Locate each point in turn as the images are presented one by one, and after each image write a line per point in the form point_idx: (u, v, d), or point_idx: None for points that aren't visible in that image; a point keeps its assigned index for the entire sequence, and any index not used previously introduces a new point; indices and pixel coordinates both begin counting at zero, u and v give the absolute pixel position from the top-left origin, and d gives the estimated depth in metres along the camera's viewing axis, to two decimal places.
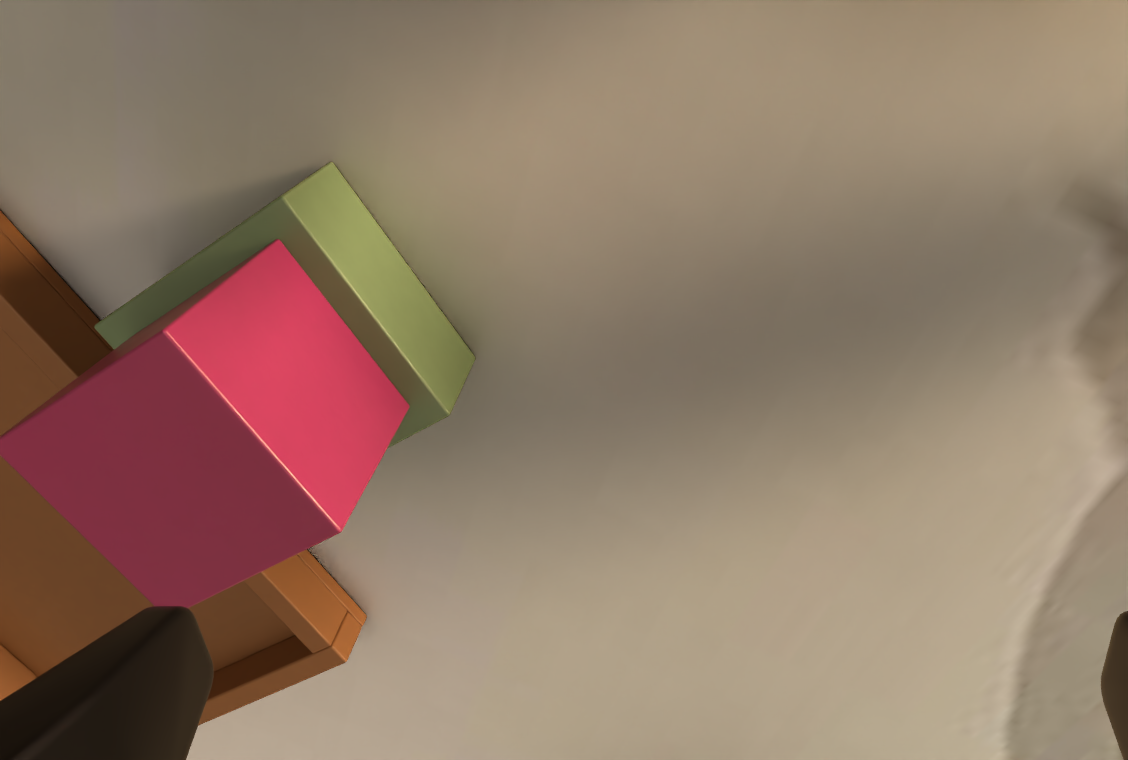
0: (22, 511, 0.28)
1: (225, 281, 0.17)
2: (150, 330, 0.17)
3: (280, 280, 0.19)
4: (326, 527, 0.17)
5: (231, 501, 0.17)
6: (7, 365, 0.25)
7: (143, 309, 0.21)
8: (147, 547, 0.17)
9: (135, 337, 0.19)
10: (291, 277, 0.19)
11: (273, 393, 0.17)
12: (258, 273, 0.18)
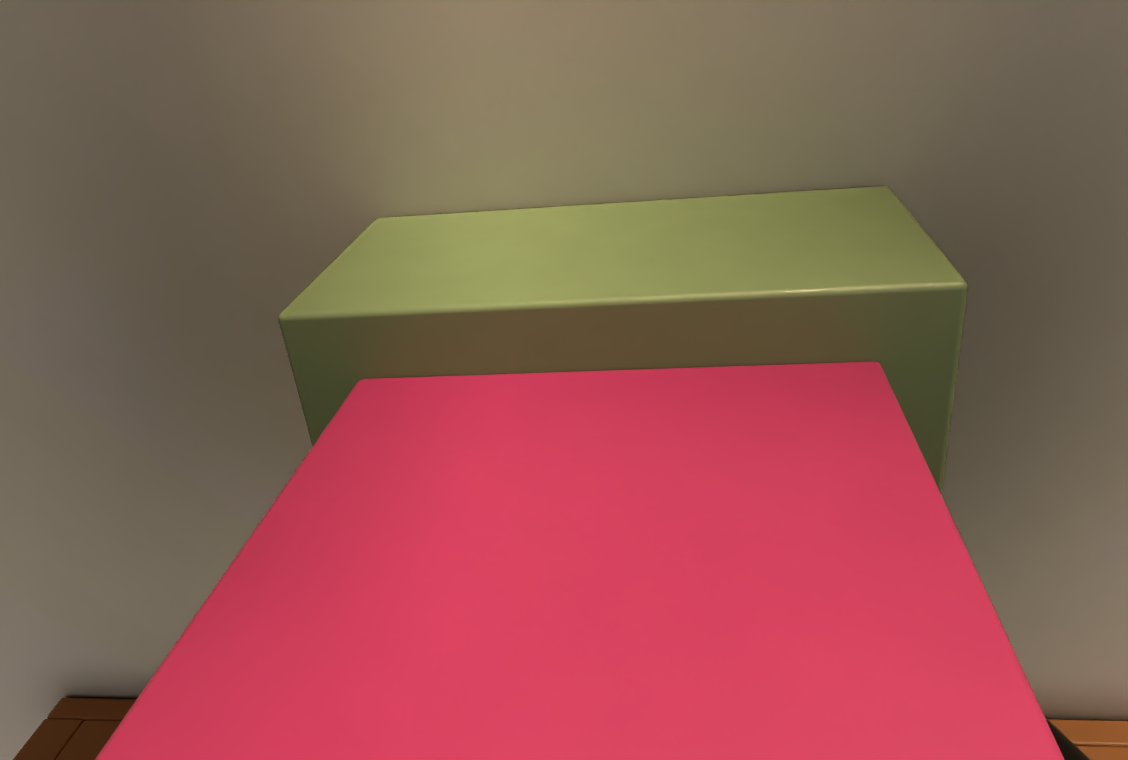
0: None
1: (244, 547, 0.06)
2: None
3: (396, 430, 0.07)
4: None
5: None
6: None
7: None
8: None
9: None
10: (420, 406, 0.08)
11: (511, 670, 0.05)
12: (331, 463, 0.07)
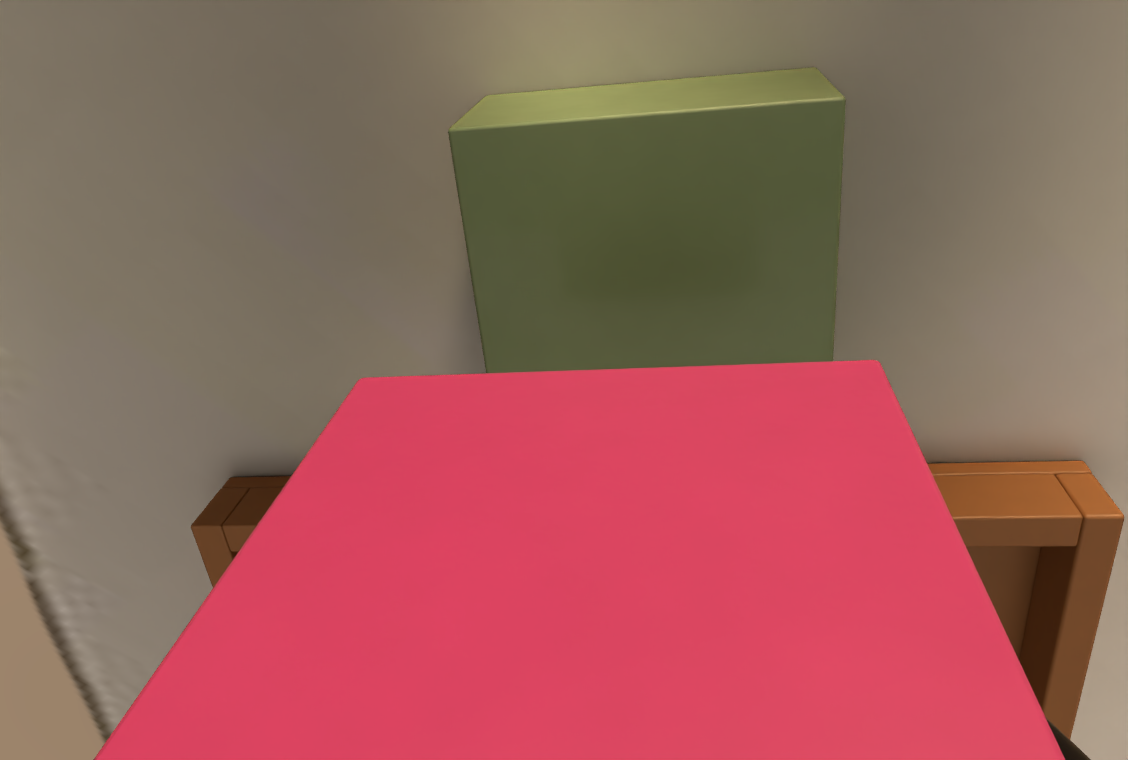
0: None
1: (245, 544, 0.06)
2: None
3: (396, 429, 0.08)
4: None
5: None
6: None
7: None
8: None
9: None
10: (421, 404, 0.08)
11: (511, 666, 0.05)
12: (332, 461, 0.07)
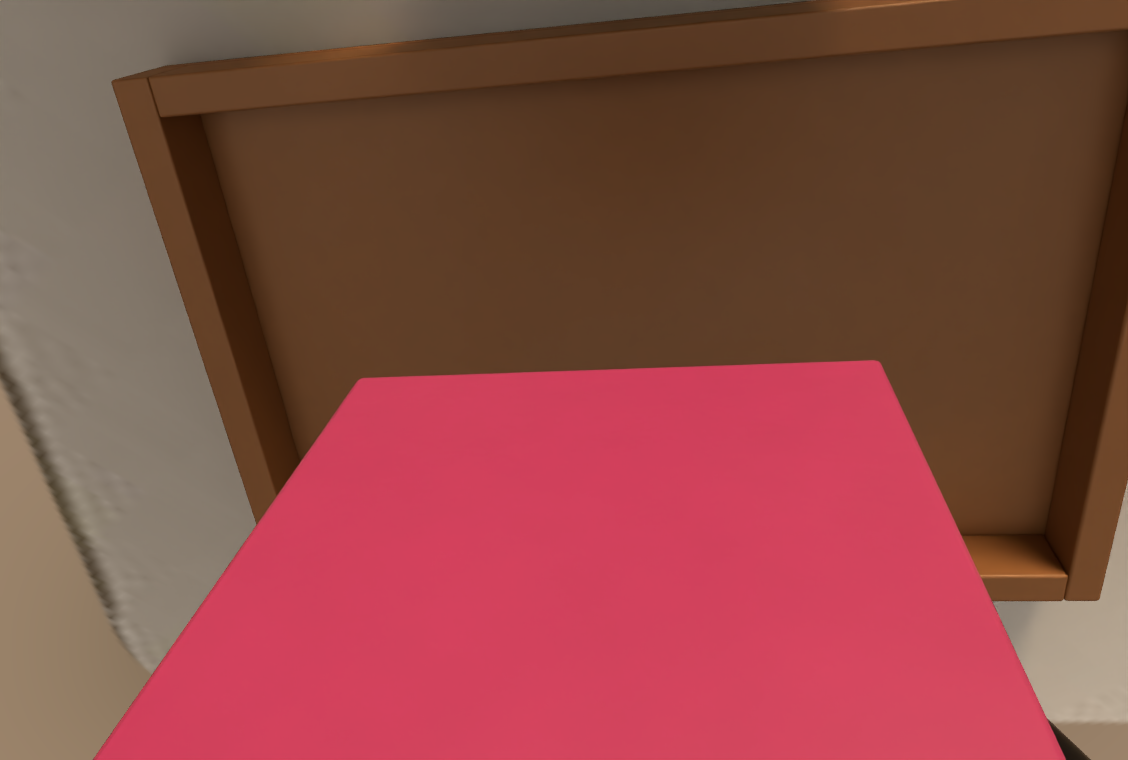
0: (701, 345, 0.20)
1: (244, 545, 0.06)
2: None
3: (396, 429, 0.07)
4: None
5: None
6: (517, 191, 0.19)
7: None
8: None
9: None
10: (420, 405, 0.08)
11: (511, 671, 0.05)
12: (331, 461, 0.07)
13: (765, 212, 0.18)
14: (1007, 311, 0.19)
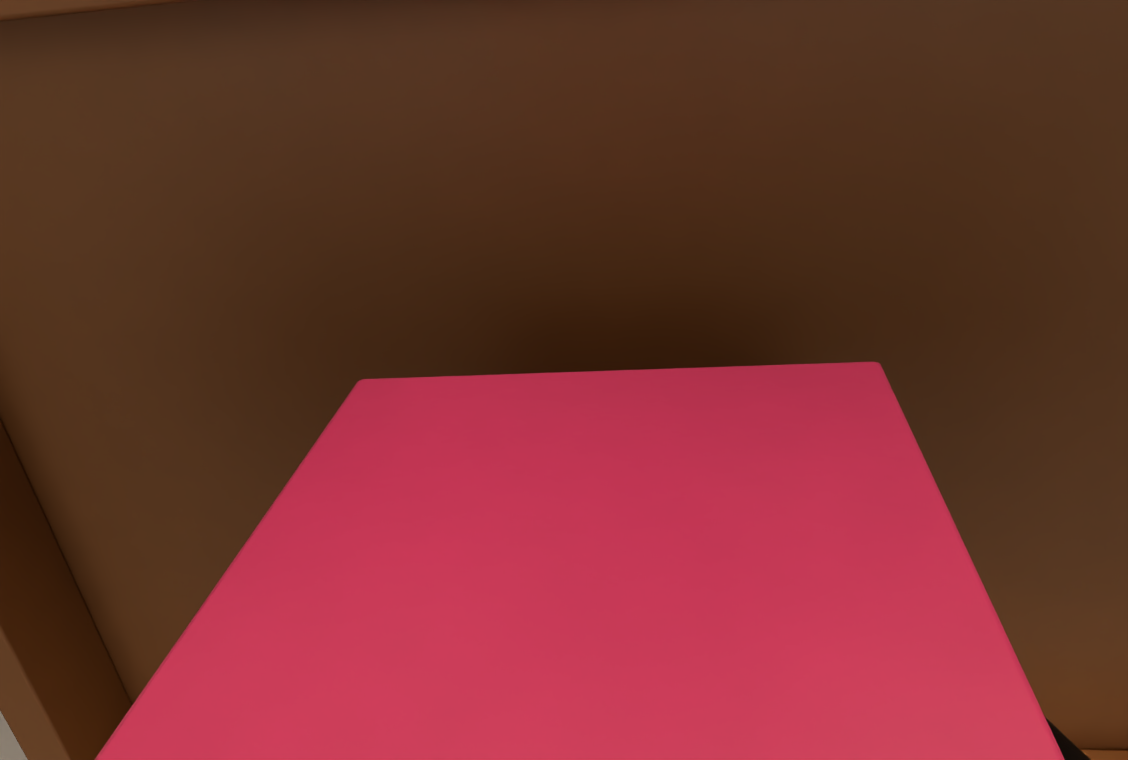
0: None
1: (243, 547, 0.06)
2: None
3: (395, 431, 0.07)
4: None
5: None
6: (398, 196, 0.11)
7: None
8: None
9: None
10: (420, 406, 0.08)
11: (509, 671, 0.05)
12: (331, 463, 0.07)
13: (839, 236, 0.10)
14: None
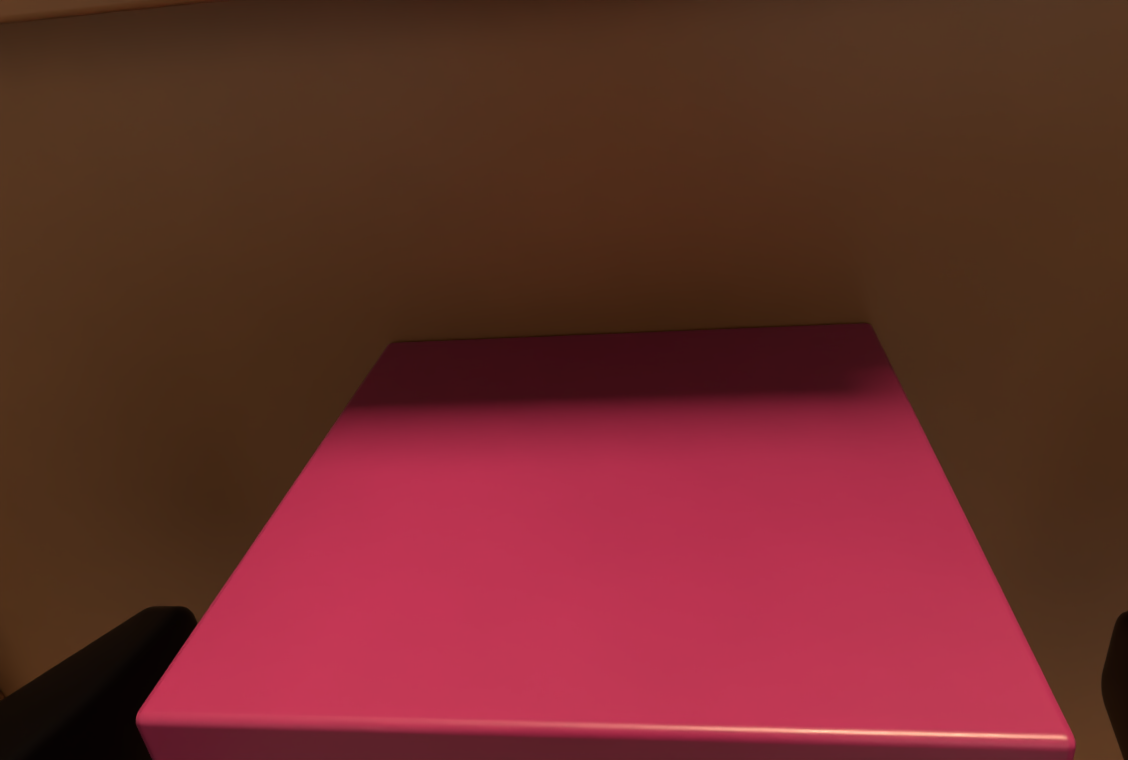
0: None
1: (295, 482, 0.07)
2: None
3: (426, 385, 0.08)
4: None
5: None
6: (349, 249, 0.09)
7: None
8: None
9: None
10: (448, 365, 0.09)
11: (543, 575, 0.06)
12: (369, 413, 0.08)
13: (886, 301, 0.08)
14: None
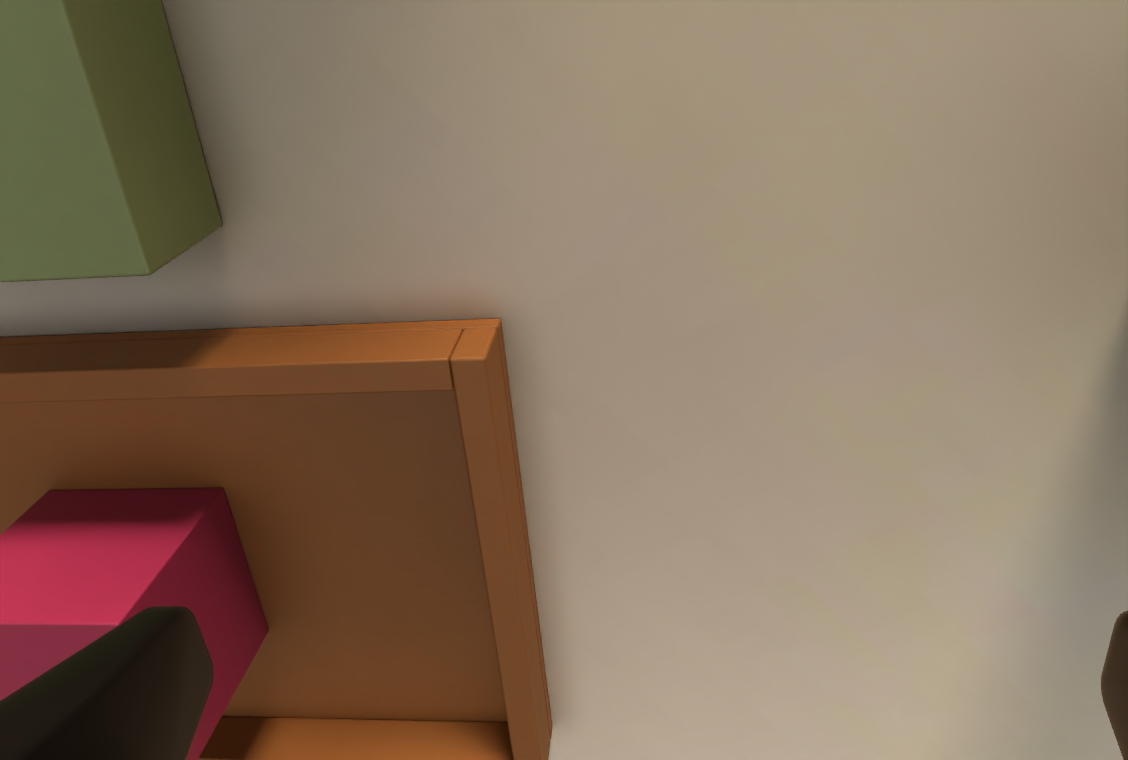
0: None
1: None
2: None
3: (47, 513, 0.22)
4: (109, 630, 0.18)
5: None
6: (27, 456, 0.23)
7: None
8: None
9: None
10: (61, 503, 0.22)
11: (33, 584, 0.19)
12: (20, 525, 0.22)
13: (226, 480, 0.22)
14: (438, 559, 0.23)
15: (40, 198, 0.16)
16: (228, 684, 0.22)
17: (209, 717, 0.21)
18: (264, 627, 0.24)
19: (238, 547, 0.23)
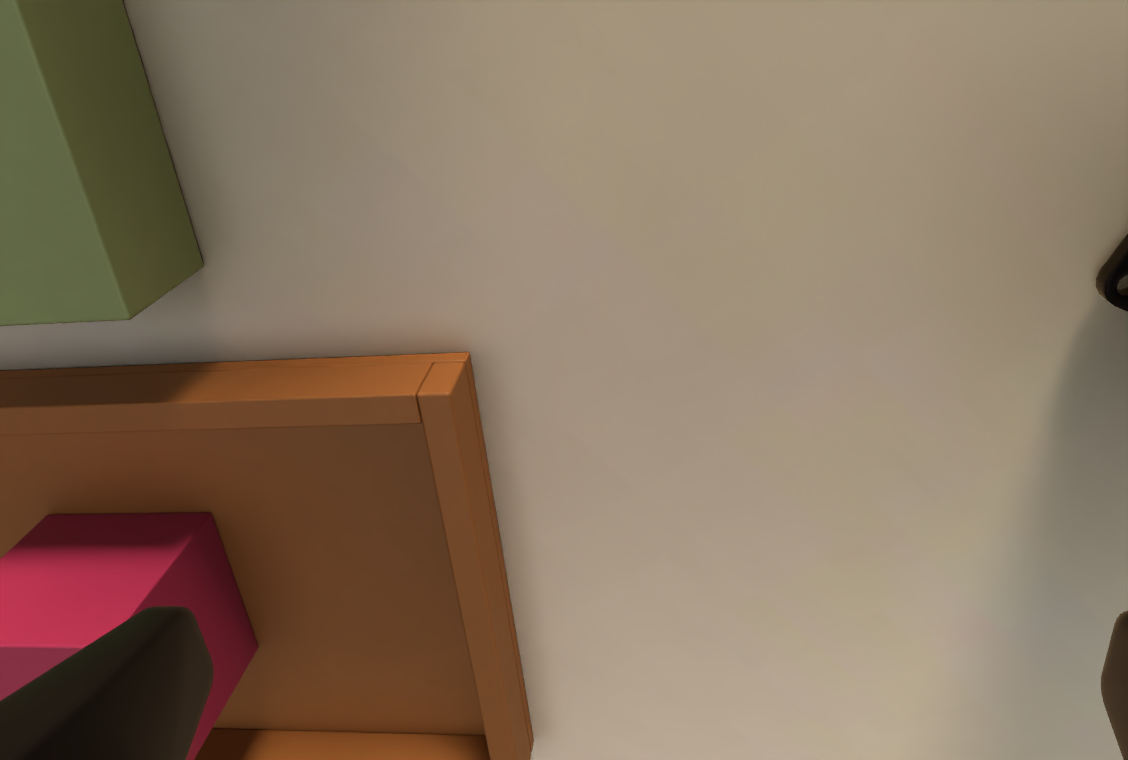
0: None
1: None
2: None
3: (45, 537, 0.23)
4: None
5: None
6: (26, 483, 0.24)
7: None
8: None
9: None
10: (59, 527, 0.23)
11: (28, 608, 0.20)
12: (19, 549, 0.23)
13: (214, 505, 0.23)
14: (417, 580, 0.24)
15: (26, 249, 0.17)
16: (217, 700, 0.23)
17: (197, 732, 0.22)
18: (253, 643, 0.25)
19: (227, 568, 0.24)
